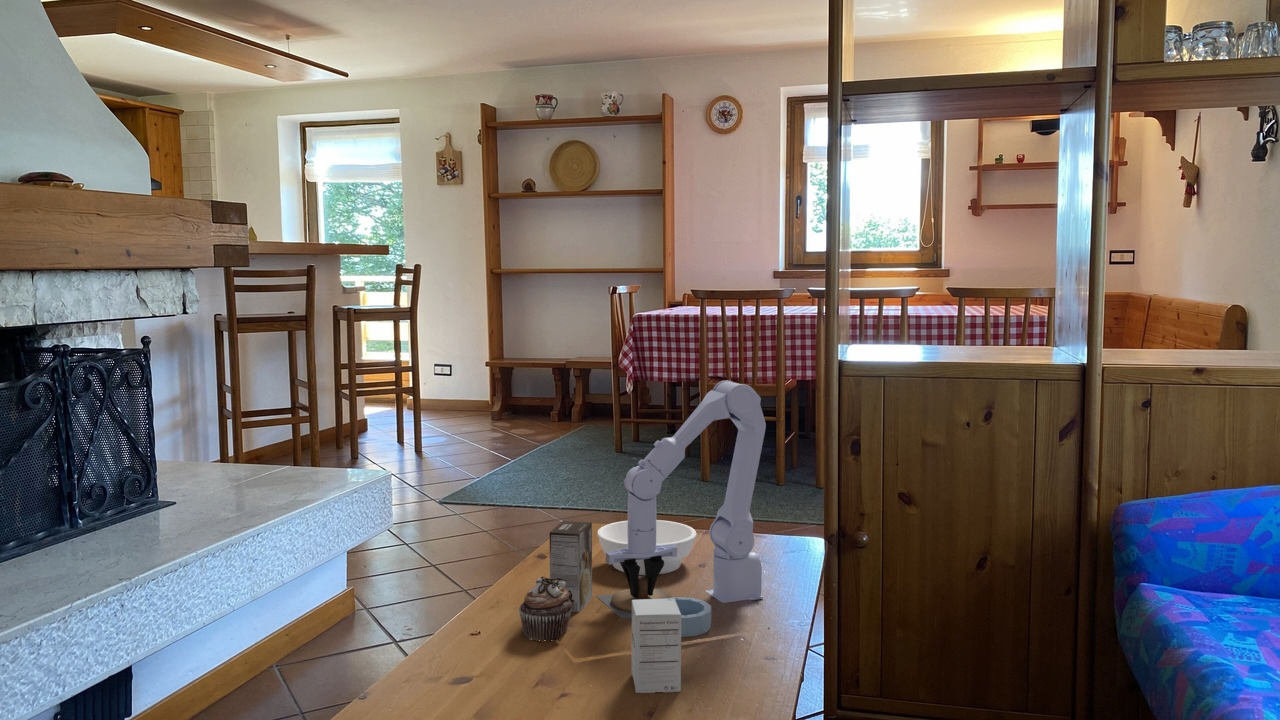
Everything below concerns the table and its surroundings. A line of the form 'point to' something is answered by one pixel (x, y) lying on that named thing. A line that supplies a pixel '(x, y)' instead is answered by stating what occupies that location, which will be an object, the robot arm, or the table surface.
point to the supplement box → (656, 645)
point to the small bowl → (693, 616)
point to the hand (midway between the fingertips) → (641, 595)
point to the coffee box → (573, 560)
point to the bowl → (666, 534)
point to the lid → (624, 598)
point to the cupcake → (546, 610)
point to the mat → (607, 601)
